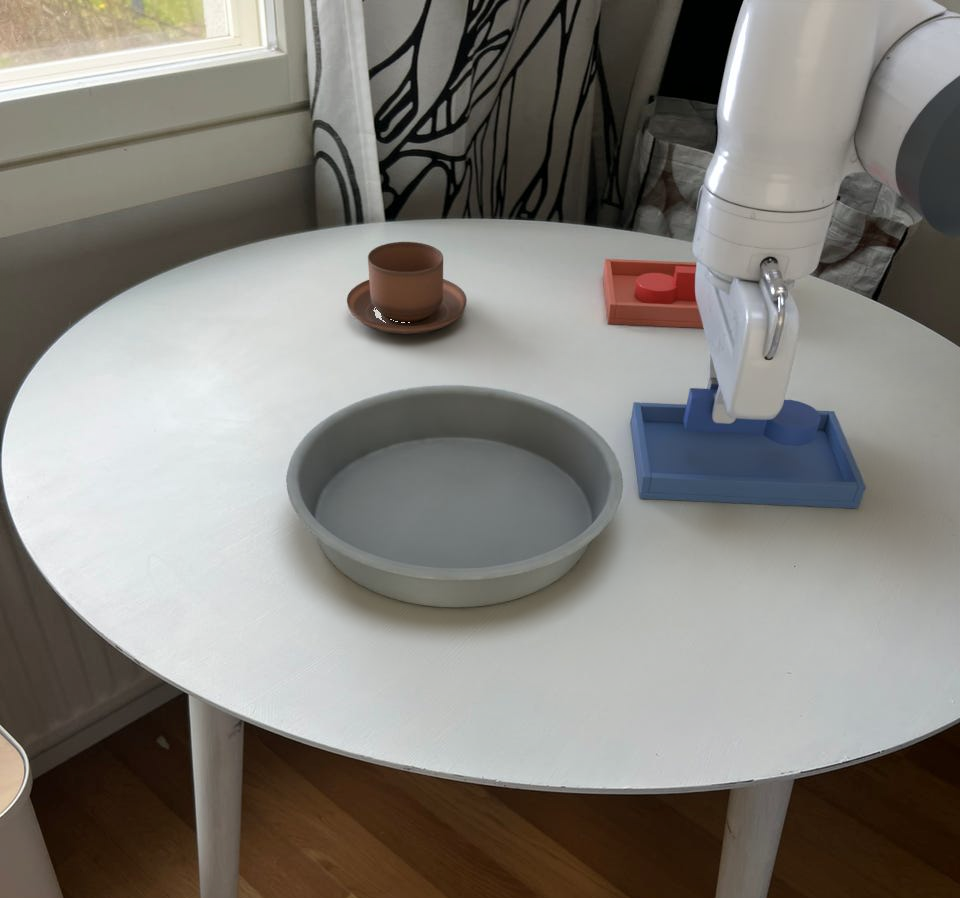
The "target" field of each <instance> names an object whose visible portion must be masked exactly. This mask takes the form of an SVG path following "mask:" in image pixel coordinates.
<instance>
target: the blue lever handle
mask: <svg viewBox="0 0 960 898" xmlns="http://www.w3.org/2000/svg"><path fill="white" fill-rule="evenodd" d="M717 390H718V389H706V388H699V387H698V388H697V387H690V388H689V389H688V395H687V400H686V404H685V405H686V410H685V415H684V420H683V421H684V426H685V430H686V431H699V432H719V433H739V434H759V435H764V436H765V437H767V438H768V439H770V440H772V441H774V442H777V443H780V444H784V445H790V446H799V445H805V444H808V443H810V442H811V441H812V440H813V439H814V438H815V435H816V432H817V429H818V426H819V423H820V415H819V413H818V412H817V411H816V410H817V409H815V408H814V407H813V406H811V405H809V404H807V403H805V402H802V401H798V400H794V399H784V403H783V406H782V408H781V410H780V412H779V413H778V414H777V416H776V417H775V418H773V419H771V420H751V419H738V418H736V419H735V421H734V422H733V423H730V424H724V423H715V422H714V421H713V418H712V414H711V405H712V400H713V395H714V393H717Z"/></svg>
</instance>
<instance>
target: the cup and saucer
mask: <svg viewBox="0 0 960 898" xmlns="http://www.w3.org/2000/svg"><path fill="white" fill-rule="evenodd" d="M367 265H368V266H367V267H368V279H366V280H364V281H362V282H360V283H358V284H357V285H355V286H354V287H353V288H351V290H350V291H349V292H348V294H347V297H346V304H347V308H348V310H349V312H350V313H351V314H352V316H353V317H354V318H355V319H356V320H358V321H359V322H361V323H362V324H364V325H365V326H367V327H370V328H372V329H375V330H379V331H381V332H386V333H392V334H405V335H407V334H409V335H410V334H421V333H427V332H432V331H436V330H439V329H441V328H444V327H446V326H448V325H450V324H452V323H453V322H454V321H456V320H457V319H459V317H460V316H461V315H463V313H464V312H465V310H466V306H467V301H468V299H467V294H466V293H465V292H464V290H463V289H462V288H461V287H460V286H459V285H457V284H455V283H454V282H452V281H449V280H448V279H444V255H443V252H441V251H440V249H438V248H437V247H434V246H432V245H430V244H426V243H423V242H417V241H416V242H415V241H395V242H389V243H385V244H381V245H378V246H377V247H375V248H373V249H372V250H370V251H369V253H368V255H367ZM375 307H376V308H375ZM374 308H375V310H376V309H377V310H378V311H379V312H380V313H381V316H382V317H381V318H382V320H384V321H385V322H386V323H385V322H383V321H382V320H380V319H379V318H376V316H375V312H374V311H373V310H374ZM390 319H392V320H390ZM393 320H394V321H393ZM395 321H398V322H395ZM401 322H405V323H401ZM408 322H410V323H408Z"/></svg>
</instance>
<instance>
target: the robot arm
mask: <svg viewBox="0 0 960 898" xmlns="http://www.w3.org/2000/svg"><path fill="white" fill-rule="evenodd" d="M719 91H720V92H719V97H718V103H717V109H716V121H717V141H716V146H715V149H714V153H713V156H712V157H711V160H710V162H709V164H708V166H707V169H706V171H705V174H704V178H703V183H702V185H701V186H700V188H699V192H698V196H697V202H696V216H697V217H696V223H695V227H694V232H693V239H692V245H691V252H692V254H693V257H694V258H695V259H696V263H697V264H696V274H695V296H696V301H697V305H698V309H699V312H700V316H701V320H702V323H703V327H704V328H703V331H704V335H705V338H706V342H707V345H708V346H707V347H708V353H709V354H708V377H707V381H706V386H705V389H718V390H717V393H714V395H713V400H712V405H711V414H712V418H713V421H714V422H715V423H724V424H730V423H733V422H734V421H735V419H736V418H738V419H751V420H771V419H773V418H775V417H776V416H777V414H778V413H779V412H780V410H781V408H782V406H783V403H784V400H786V395H787V391H788V387H789V382H790V378H791V374H792V369H793V364H794V359H795V356H796V350H797V346H798V345H797V344H798V340H799V331H800V314H799V309H798V306H797V304H796V301H795V299H794V297H793V295H792V292H791V291H792V289H793V288H794V285H795V283H796V281H797V280H799V279H802V278H805V277H807V276H809V275H811V274H812V273H814V272H815V271H816V270H817V268H818V266H819V265H820V264H819V263H820V260H821V256H822V252H823V249H824V245H825V243H826V239H827V234H828V231H829V229H830V224H831V221H832V217H833V215H834V214H833V213H834V210H835V206H836V203H837V199H838V195H839V192H840V187H841V184H842V182H843V181H844V179H845V178H846V177H847V176H849V175H851V174H864V173H867V174H868V175H869V176H871V177H872V178H873V179H874V180H876V181H877V182H878V183H881V184H882V185H883V186H885V187H886V188H888V189H889V190H891V191H893V192H894V193H896V194H897V195H898V196H900V197H902V199H903V200H904V201H905V202H906V204H908V205H909V206H910V208H912V209H913V210H914V211H915V212H916V214H918V215H919V216H920V217H921V218H922V219H923V220H924V221H925V222H926V223H928V225H930V226H931V227H932V228H933V229H934V230H935V231H937V232H938V233H939V234H941V235H945V236H946V237H949V238H953V239H960V13H957V12H955V11H953V10H951V9H949V8H946V7H945V6H944V5H942V4H940V3H938V2H936V1H935V0H743V1H742V4H741V7H740V10H739V13H738V16H737V20H736V22H735V26H734V30H733V33H732V37H731V41H730V44H729V48H728V53H727V57H726V61H725V67H724V72H723V76H722V81H721V86H720V90H719Z"/></svg>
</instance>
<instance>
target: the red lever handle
mask: <svg viewBox="0 0 960 898" xmlns="http://www.w3.org/2000/svg"><path fill="white" fill-rule="evenodd" d="M695 274H696V267H688V266H676V267H675V273H674V277H672V276H670V275H666V274H662V273H647V274H643V275H641V276H639V277H638V278H637V281H636V288H635V297H636V298H637V299H638V300H639V301H641V302H643V303H648V304H671V303H673V302H674V301H675V300H679V301H696V296H695Z"/></svg>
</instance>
